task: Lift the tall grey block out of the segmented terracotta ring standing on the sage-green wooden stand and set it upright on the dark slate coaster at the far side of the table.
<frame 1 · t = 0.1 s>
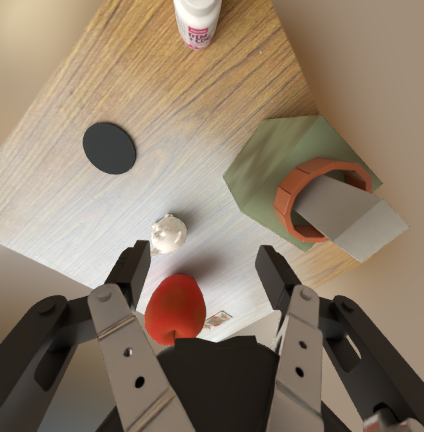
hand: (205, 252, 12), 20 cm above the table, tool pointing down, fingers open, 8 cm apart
block: (335, 212, 15), in the segmented terracotta ring, point 18 cm above the table, touching stand
playing card: (215, 320, 51), on the table
coaster: (110, 150, 27), on the table
segmented terracotta ring: (319, 202, 17), on the stand, point 15 cm above the table
stand: (264, 168, 30), on the table
figurine: (170, 228, 35), on the table
pill bottle: (197, 26, 21), on the table
apple: (179, 279, 42), on the table
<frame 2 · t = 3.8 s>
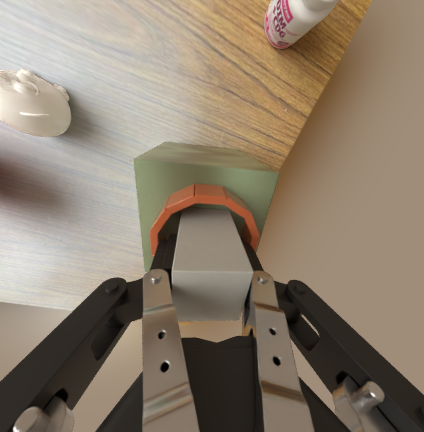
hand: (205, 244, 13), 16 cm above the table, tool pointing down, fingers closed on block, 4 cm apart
block: (206, 254, 12), in the segmented terracotta ring, point 18 cm above the table, touching gripper, stand
segmented terracotta ring: (204, 236, 14), on the stand, point 15 cm above the table
stand: (200, 182, 27), on the table
figurine: (47, 107, 21), on the table
pill bottle: (282, 23, 20), on the table
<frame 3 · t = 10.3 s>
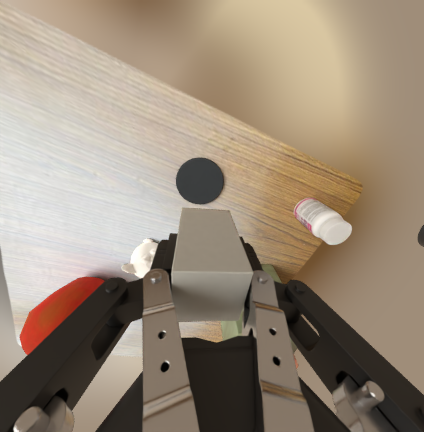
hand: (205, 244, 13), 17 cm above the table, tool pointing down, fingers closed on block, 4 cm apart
block: (206, 255, 12), point 18 cm above the table, touching gripper
coaster: (199, 182, 28), on the table
stand: (243, 281, 40), on the table
figurine: (153, 251, 34), on the table
pill bottle: (304, 208, 32), on the table
apple: (98, 282, 36), on the table
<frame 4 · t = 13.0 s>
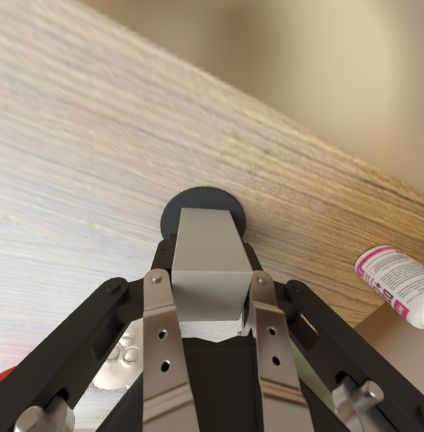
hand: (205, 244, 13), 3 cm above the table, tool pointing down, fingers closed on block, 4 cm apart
block: (206, 255, 12), on the coaster, touching gripper
coaster: (203, 226, 16), on the table
stand: (264, 350, 28), on the table
figurine: (130, 322, 22), on the table
pill bottle: (371, 259, 20), on the table
when the fingers open (3 cm above the table, at t = 13.2 s): block stays where it is, resting on coaster.
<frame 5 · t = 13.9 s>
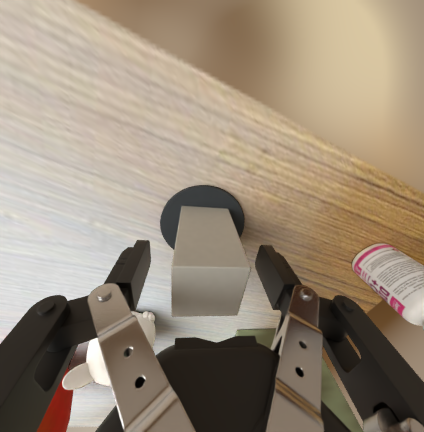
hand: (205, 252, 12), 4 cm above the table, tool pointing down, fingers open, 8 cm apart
block: (205, 252, 12), on the coaster
coaster: (203, 224, 16), on the table
stand: (263, 347, 28), on the table
figurine: (131, 320, 22), on the table
pill bottle: (368, 257, 20), on the table
apple: (50, 359, 24), on the table
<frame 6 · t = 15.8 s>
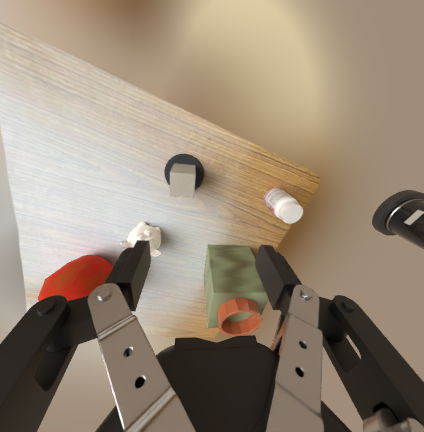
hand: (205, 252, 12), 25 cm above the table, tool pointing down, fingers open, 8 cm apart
block: (183, 179, 30), on the coaster
coaster: (184, 173, 34), on the table
segmented terracotta ring: (238, 317, 33), on the stand, point 15 cm above the table
stand: (225, 261, 46), on the table
figurine: (147, 233, 40), on the table
pill bottle: (273, 196, 38), on the table
apple: (100, 261, 42), on the table
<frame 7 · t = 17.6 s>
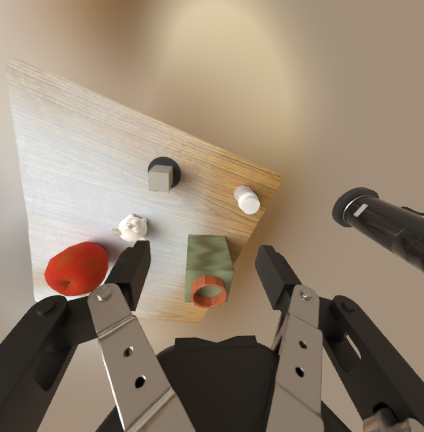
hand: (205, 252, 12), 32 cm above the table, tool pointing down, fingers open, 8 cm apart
block: (161, 177, 37), on the coaster
coaster: (164, 173, 41), on the table
segmented terracotta ring: (208, 292, 40), on the stand, point 15 cm above the table
stand: (205, 250, 53), on the table
figurine: (136, 224, 47), on the table
pill bottle: (241, 192, 45), on the table
apple: (96, 248, 50), on the table
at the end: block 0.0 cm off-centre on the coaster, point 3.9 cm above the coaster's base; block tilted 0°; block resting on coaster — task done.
